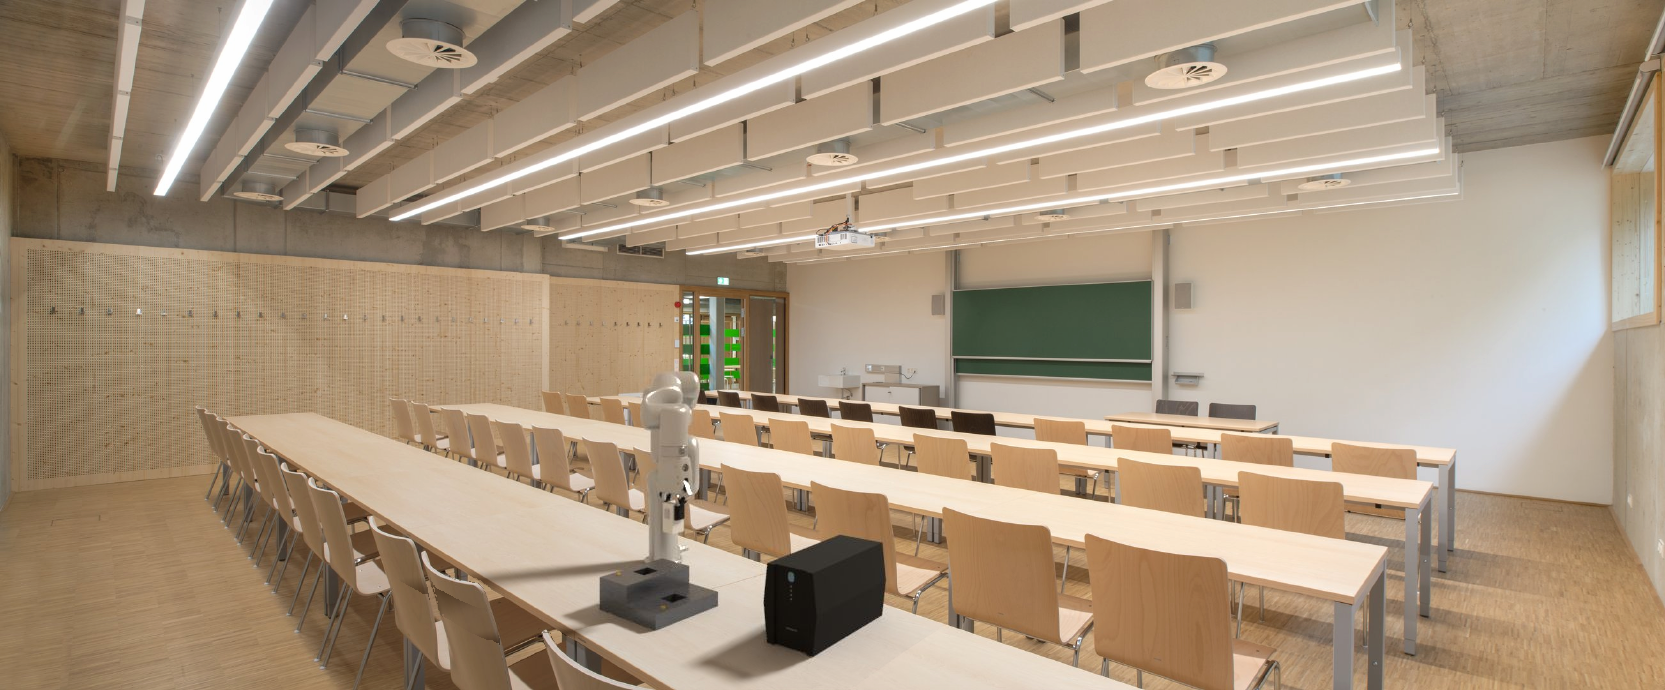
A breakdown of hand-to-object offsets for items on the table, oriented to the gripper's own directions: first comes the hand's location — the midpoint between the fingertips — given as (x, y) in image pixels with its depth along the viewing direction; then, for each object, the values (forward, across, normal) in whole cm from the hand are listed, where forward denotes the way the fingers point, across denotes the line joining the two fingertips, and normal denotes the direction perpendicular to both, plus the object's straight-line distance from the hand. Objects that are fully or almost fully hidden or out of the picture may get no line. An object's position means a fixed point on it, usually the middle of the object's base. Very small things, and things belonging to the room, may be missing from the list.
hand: (673, 517), depth 200 cm
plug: (+4, 0, 0) cm, 4 cm away
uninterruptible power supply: (+26, -40, -18) cm, 51 cm away
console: (+26, +6, 0) cm, 27 cm away
